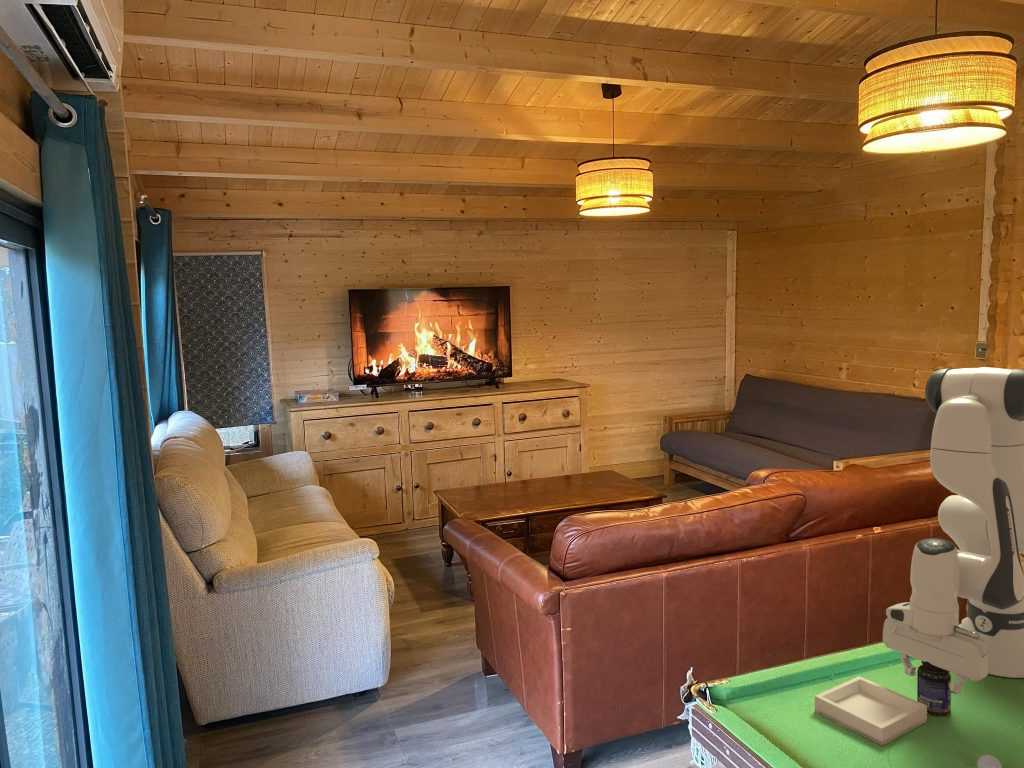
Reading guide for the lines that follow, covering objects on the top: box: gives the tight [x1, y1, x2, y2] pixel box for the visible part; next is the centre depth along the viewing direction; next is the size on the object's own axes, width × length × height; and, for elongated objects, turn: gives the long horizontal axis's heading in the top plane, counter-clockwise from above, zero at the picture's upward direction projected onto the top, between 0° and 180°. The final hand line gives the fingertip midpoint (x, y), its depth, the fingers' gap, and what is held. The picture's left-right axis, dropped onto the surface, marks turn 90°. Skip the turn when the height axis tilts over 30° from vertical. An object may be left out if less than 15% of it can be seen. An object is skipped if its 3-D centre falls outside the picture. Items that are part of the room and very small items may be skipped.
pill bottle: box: [916, 660, 952, 717], centre depth 153 cm, size 6×6×11 cm
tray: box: [814, 675, 928, 746], centre depth 151 cm, size 15×15×4 cm
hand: (932, 683), depth 153 cm, fingers open, 8 cm apart
